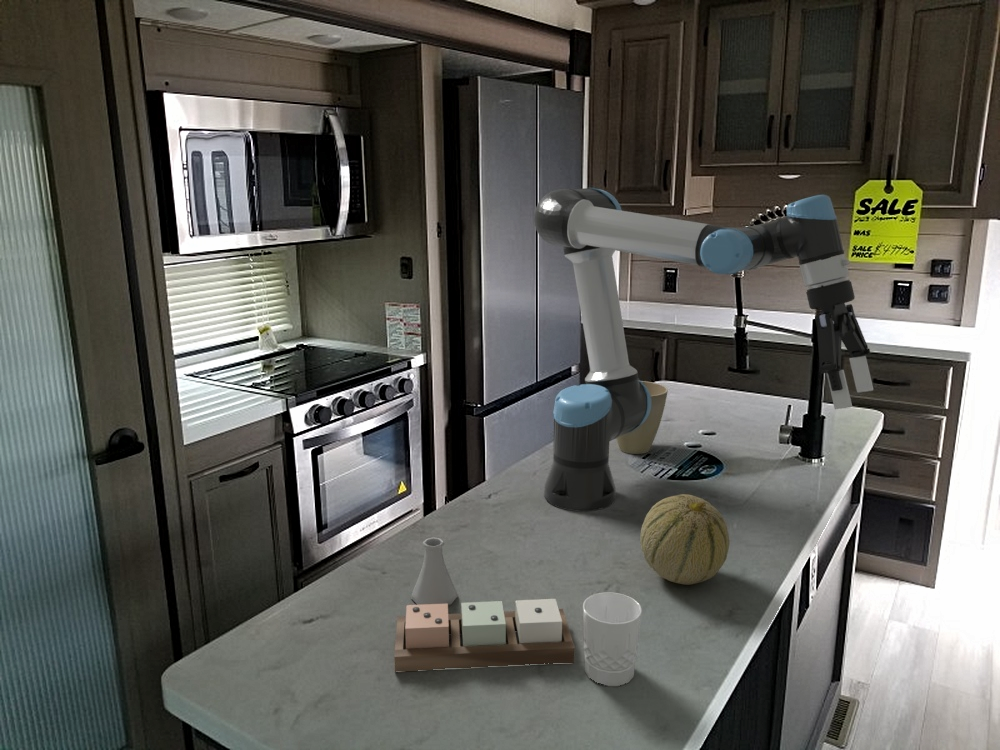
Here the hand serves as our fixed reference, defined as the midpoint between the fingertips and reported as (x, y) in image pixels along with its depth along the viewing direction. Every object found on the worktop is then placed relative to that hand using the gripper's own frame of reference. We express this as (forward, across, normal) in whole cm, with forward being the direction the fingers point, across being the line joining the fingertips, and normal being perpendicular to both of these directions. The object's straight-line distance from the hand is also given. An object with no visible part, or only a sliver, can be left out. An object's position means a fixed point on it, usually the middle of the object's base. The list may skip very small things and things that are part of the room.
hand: (854, 399), depth 137 cm
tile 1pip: (+16, -62, +31) cm, 71 cm away
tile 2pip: (+14, -67, +36) cm, 78 cm away
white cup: (+22, -61, +21) cm, 68 cm away
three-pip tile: (+13, -73, +42) cm, 85 cm away
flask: (+12, -62, +51) cm, 82 cm away
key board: (+17, -67, +37) cm, 79 cm away
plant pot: (+9, +20, +61) cm, 65 cm away
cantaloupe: (+21, -31, +25) cm, 45 cm away
